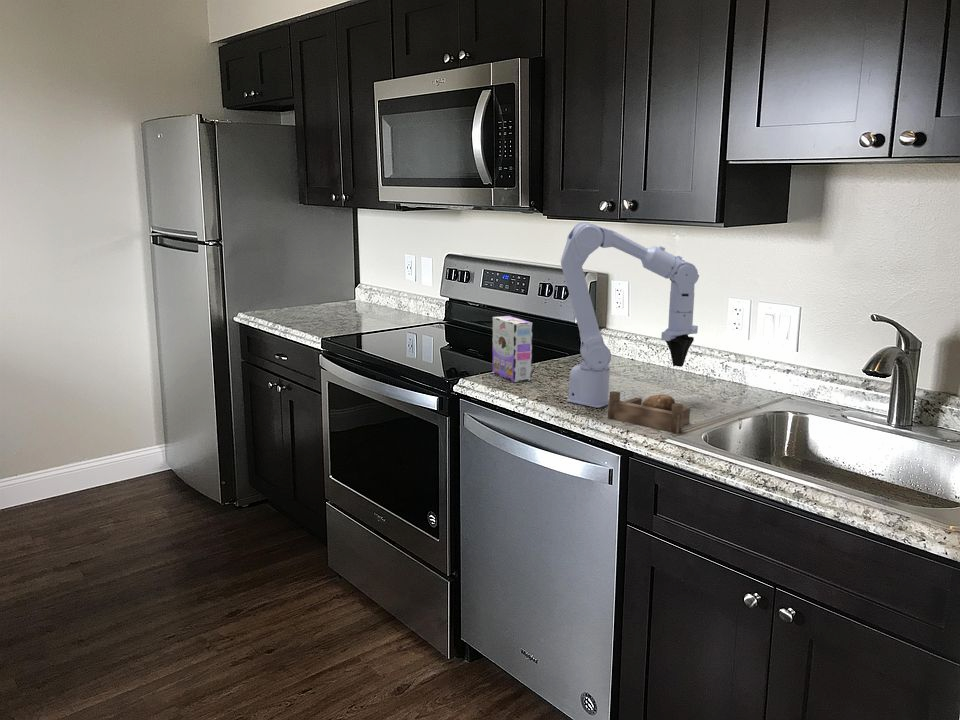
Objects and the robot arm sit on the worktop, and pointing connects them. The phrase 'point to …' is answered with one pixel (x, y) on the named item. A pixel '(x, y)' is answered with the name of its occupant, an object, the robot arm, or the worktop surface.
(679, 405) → the wooden crate
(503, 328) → the candy box
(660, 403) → the mushroom
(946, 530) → the worktop surface
